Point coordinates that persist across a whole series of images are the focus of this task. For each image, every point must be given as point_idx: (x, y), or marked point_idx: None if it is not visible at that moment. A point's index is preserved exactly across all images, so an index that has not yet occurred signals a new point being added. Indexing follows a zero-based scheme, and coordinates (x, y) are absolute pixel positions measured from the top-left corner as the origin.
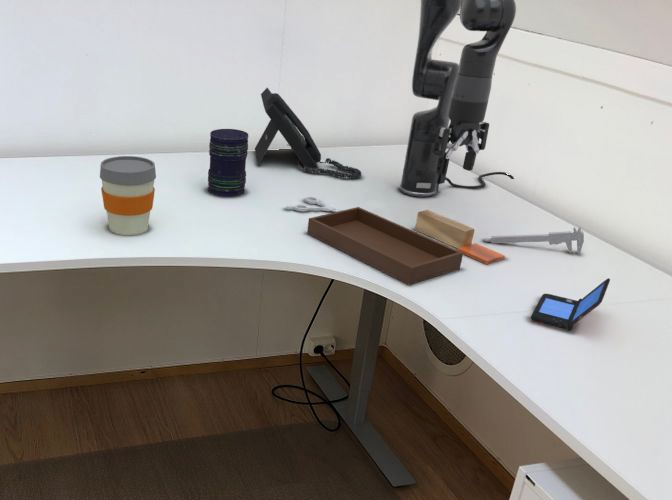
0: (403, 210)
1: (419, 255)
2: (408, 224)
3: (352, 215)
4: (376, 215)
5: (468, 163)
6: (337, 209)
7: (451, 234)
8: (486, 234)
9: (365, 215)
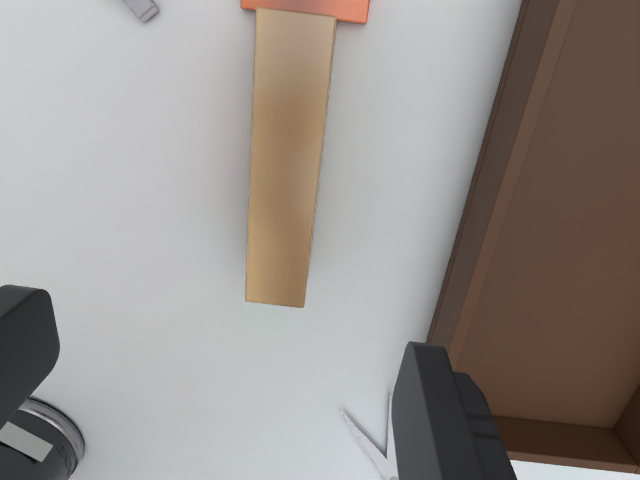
0: (193, 379)
1: (578, 85)
2: (282, 307)
3: None
4: None
5: (2, 362)
6: (387, 474)
7: (327, 101)
8: (81, 66)
9: None
